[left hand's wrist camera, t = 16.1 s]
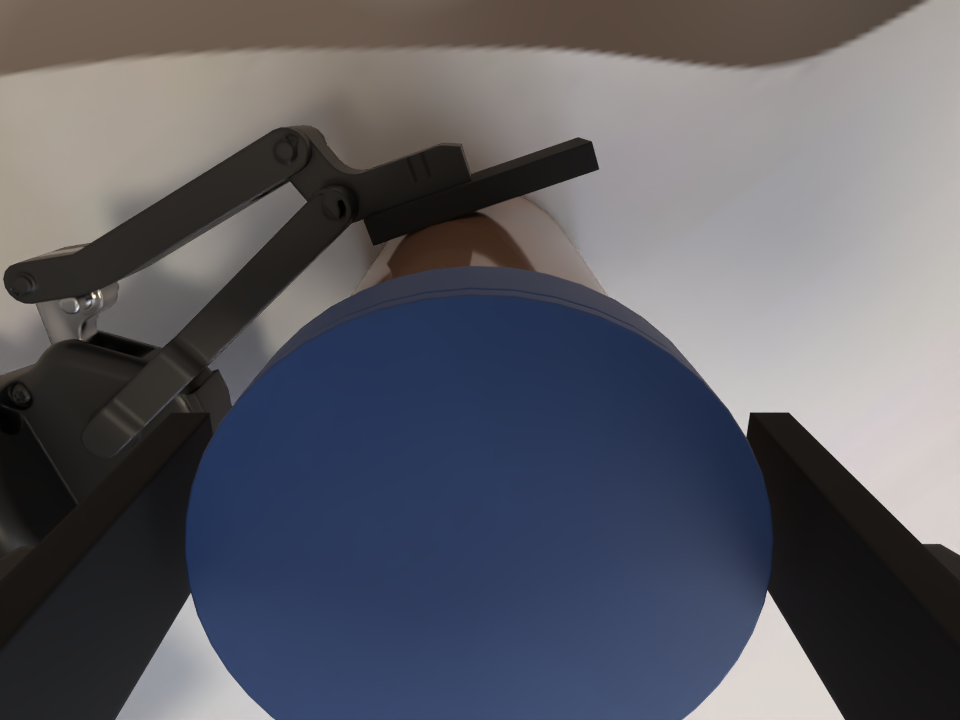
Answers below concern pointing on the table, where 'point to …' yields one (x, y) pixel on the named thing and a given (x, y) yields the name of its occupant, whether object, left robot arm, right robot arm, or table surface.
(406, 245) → the jar
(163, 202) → the right robot arm
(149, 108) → the table surface
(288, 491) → the lid
